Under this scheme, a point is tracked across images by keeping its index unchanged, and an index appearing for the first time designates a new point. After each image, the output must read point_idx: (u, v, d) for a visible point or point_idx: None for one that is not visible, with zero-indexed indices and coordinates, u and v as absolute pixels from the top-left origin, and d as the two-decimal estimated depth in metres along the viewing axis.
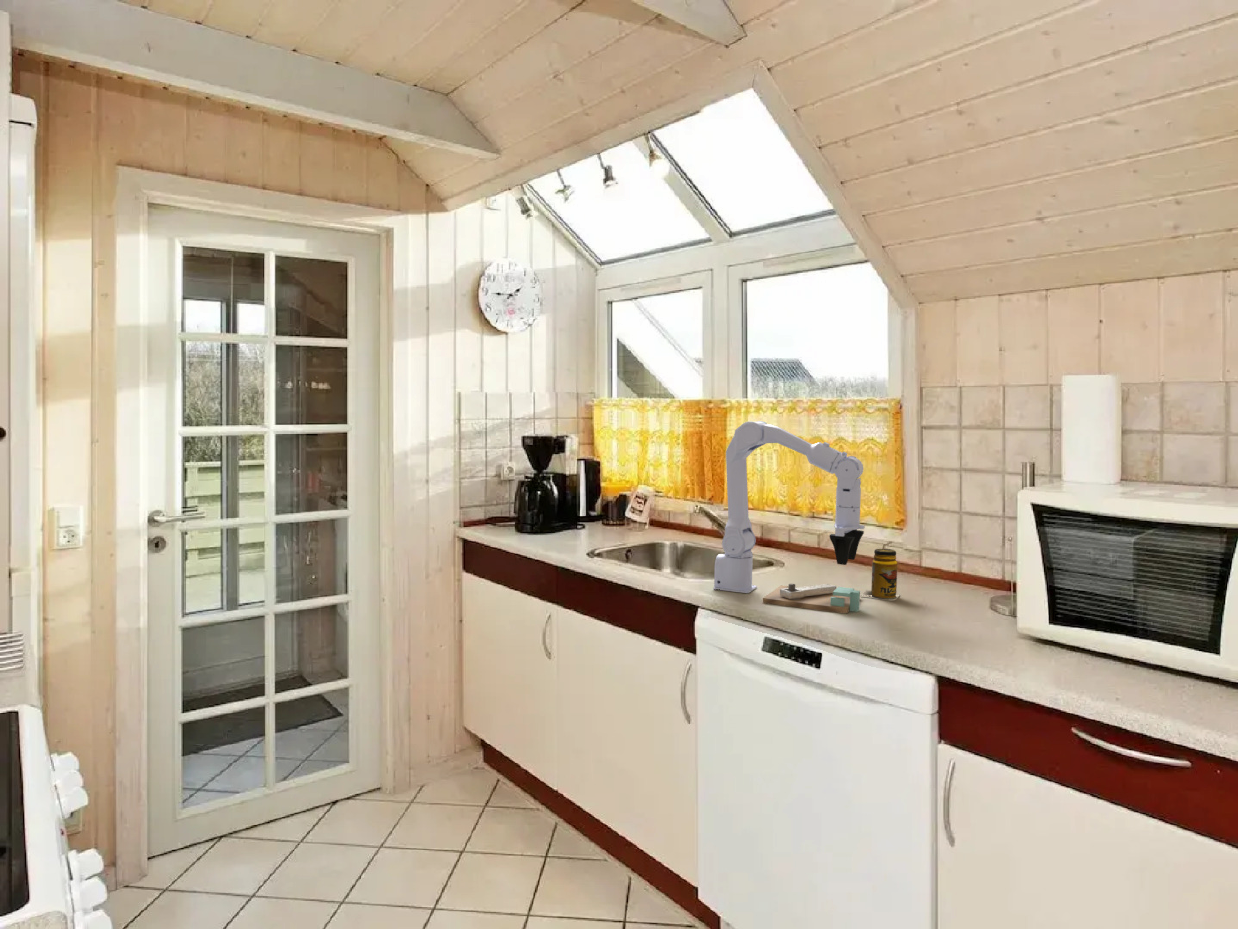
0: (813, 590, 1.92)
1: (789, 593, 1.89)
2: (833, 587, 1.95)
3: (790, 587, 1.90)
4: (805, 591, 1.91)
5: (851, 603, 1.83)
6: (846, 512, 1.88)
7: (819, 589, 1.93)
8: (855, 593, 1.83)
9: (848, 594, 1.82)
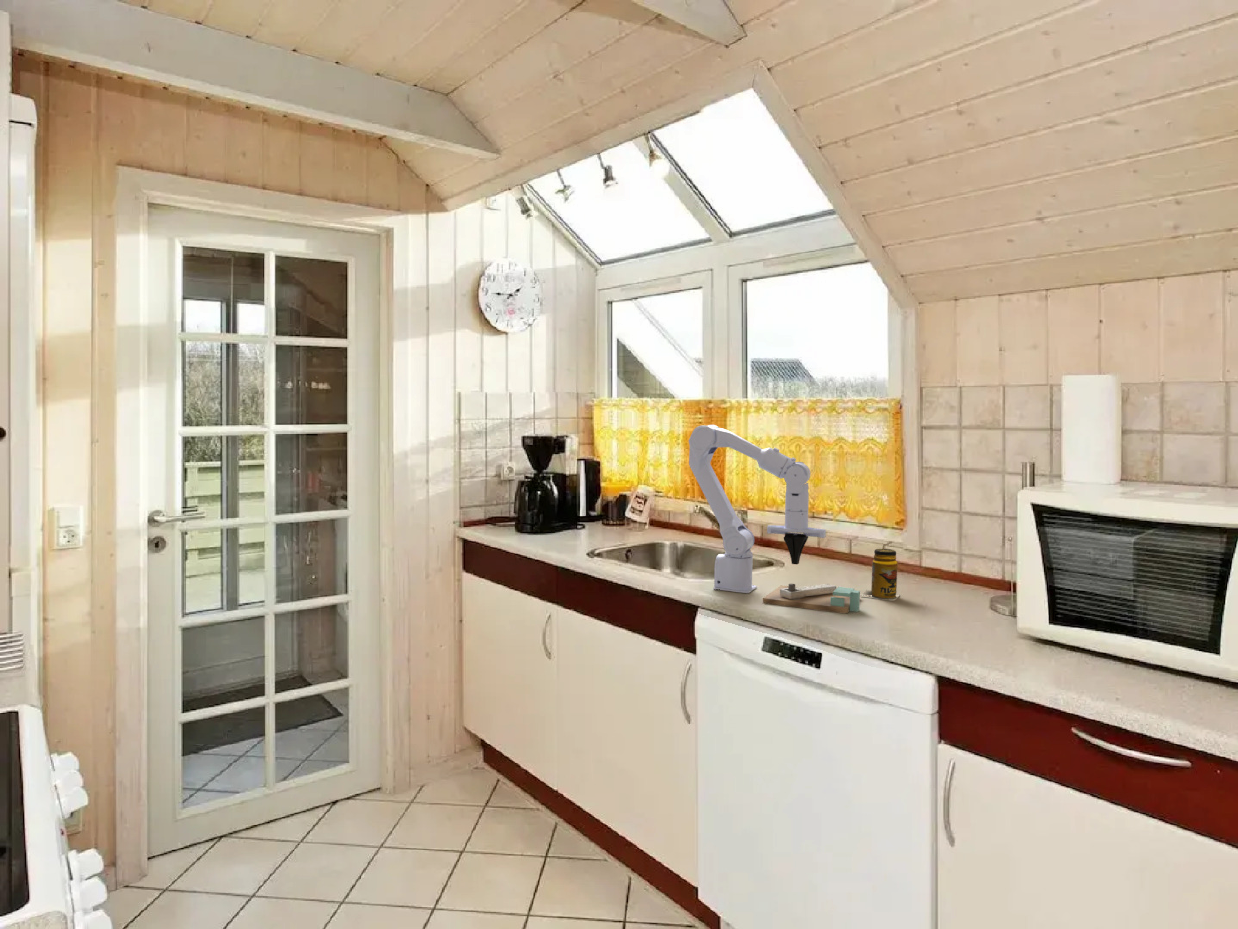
0: (813, 590, 1.92)
1: (789, 593, 1.89)
2: (833, 587, 1.95)
3: (790, 587, 1.90)
4: (805, 591, 1.91)
5: (851, 603, 1.83)
6: None
7: (819, 589, 1.93)
8: (855, 593, 1.83)
9: (848, 594, 1.82)
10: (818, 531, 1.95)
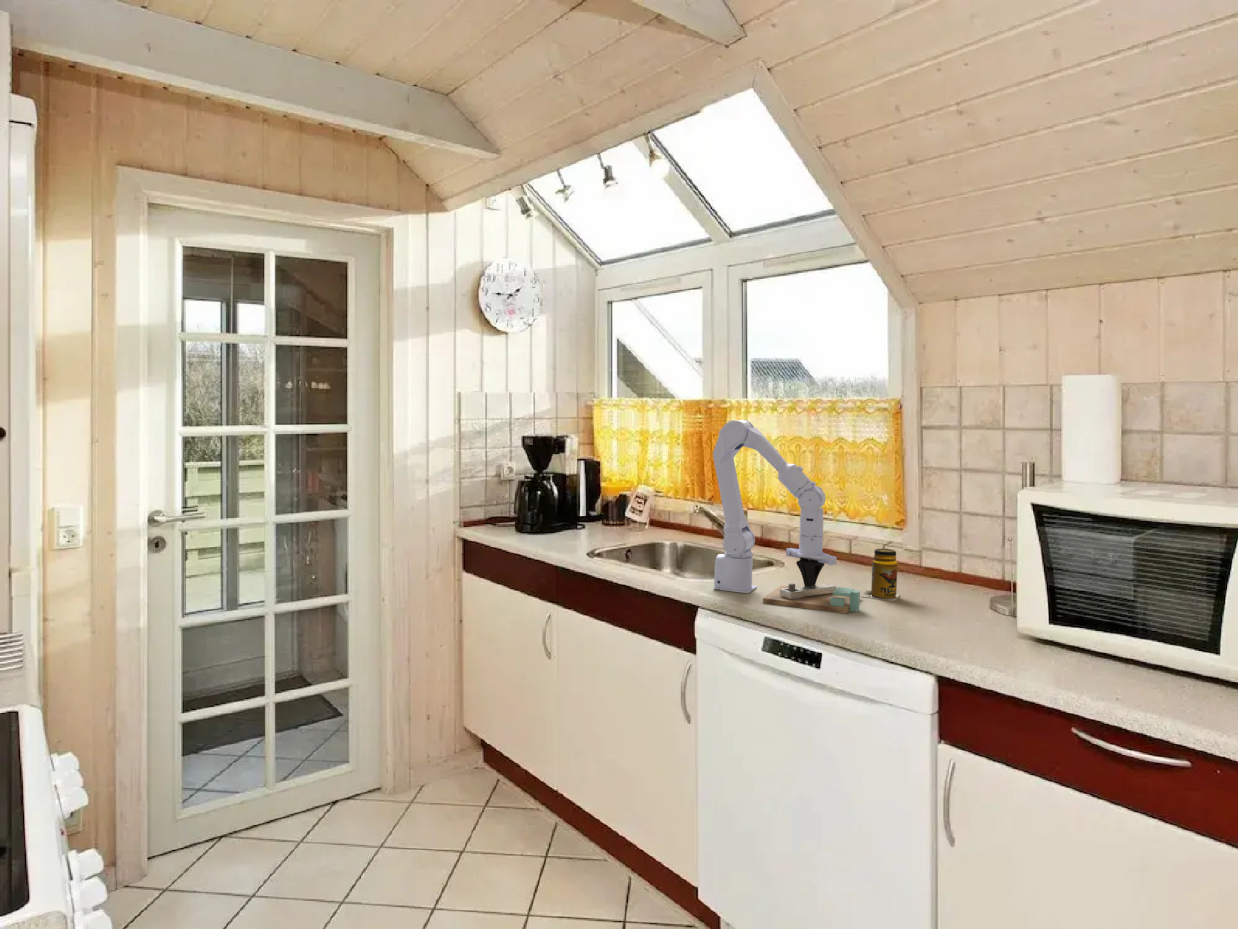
0: (813, 590, 1.92)
1: (789, 593, 1.89)
2: (833, 587, 1.95)
3: (790, 587, 1.90)
4: (805, 591, 1.91)
5: (851, 603, 1.83)
6: None
7: (819, 589, 1.93)
8: (855, 593, 1.83)
9: (848, 594, 1.82)
10: (826, 558, 1.91)
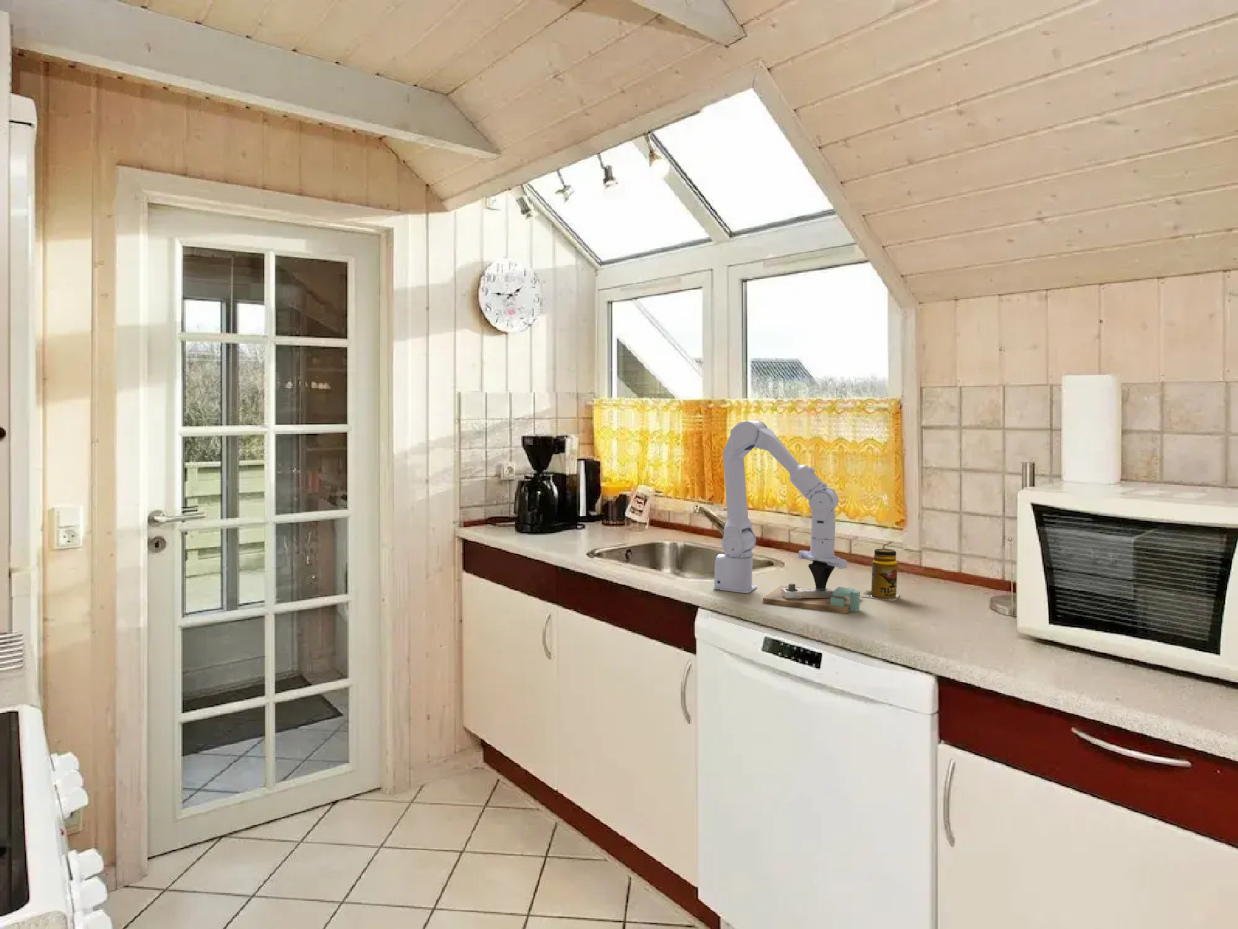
0: (816, 592, 1.90)
1: (785, 592, 1.89)
2: None
3: (790, 587, 1.90)
4: (805, 592, 1.90)
5: (851, 603, 1.83)
6: None
7: (823, 592, 1.90)
8: (855, 593, 1.83)
9: (848, 594, 1.82)
10: (836, 561, 1.88)
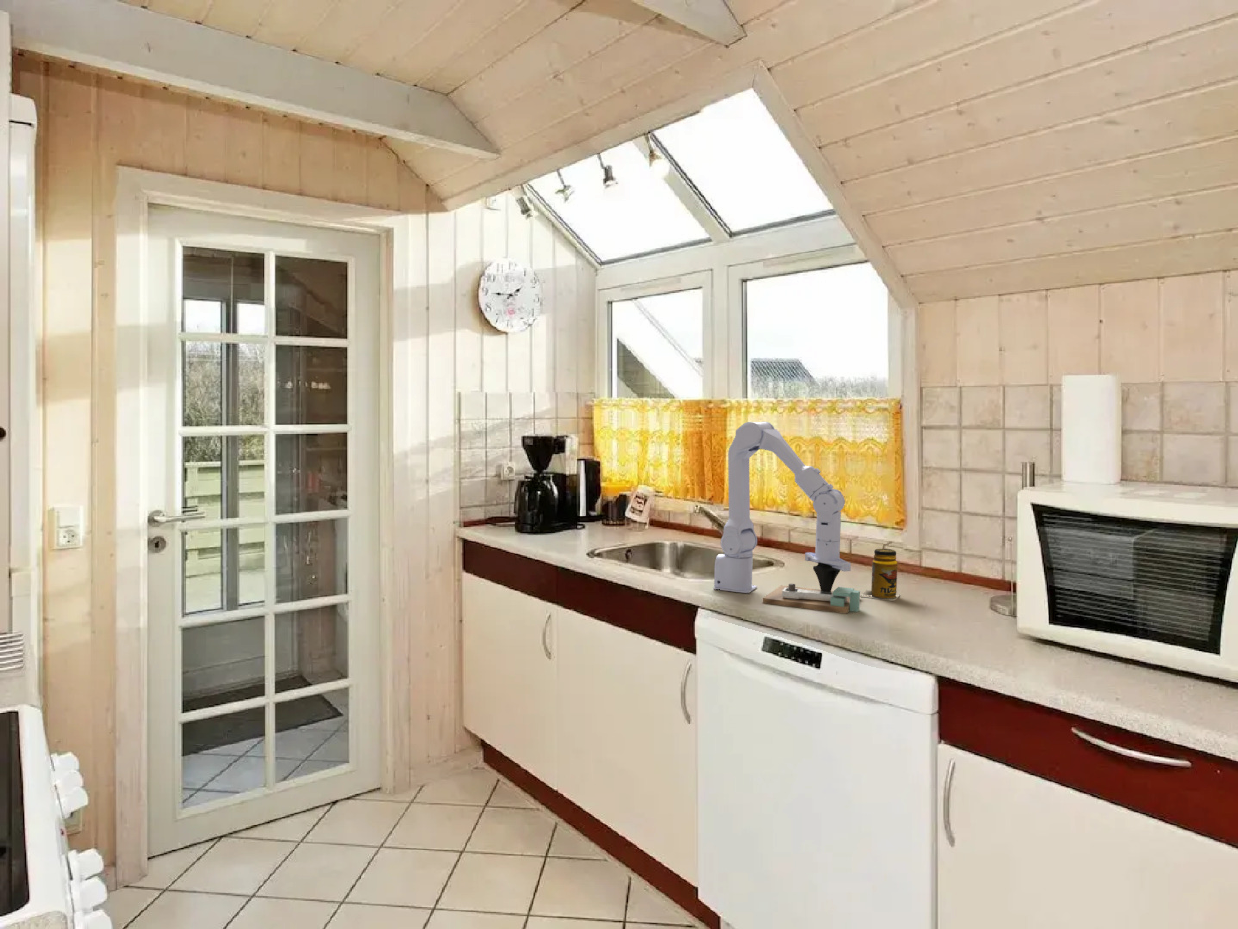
0: (814, 594, 1.88)
1: None
2: (842, 596, 1.86)
3: (790, 587, 1.90)
4: (803, 593, 1.89)
5: (851, 603, 1.83)
6: None
7: (822, 595, 1.87)
8: (855, 593, 1.83)
9: (848, 594, 1.82)
10: (839, 564, 1.85)
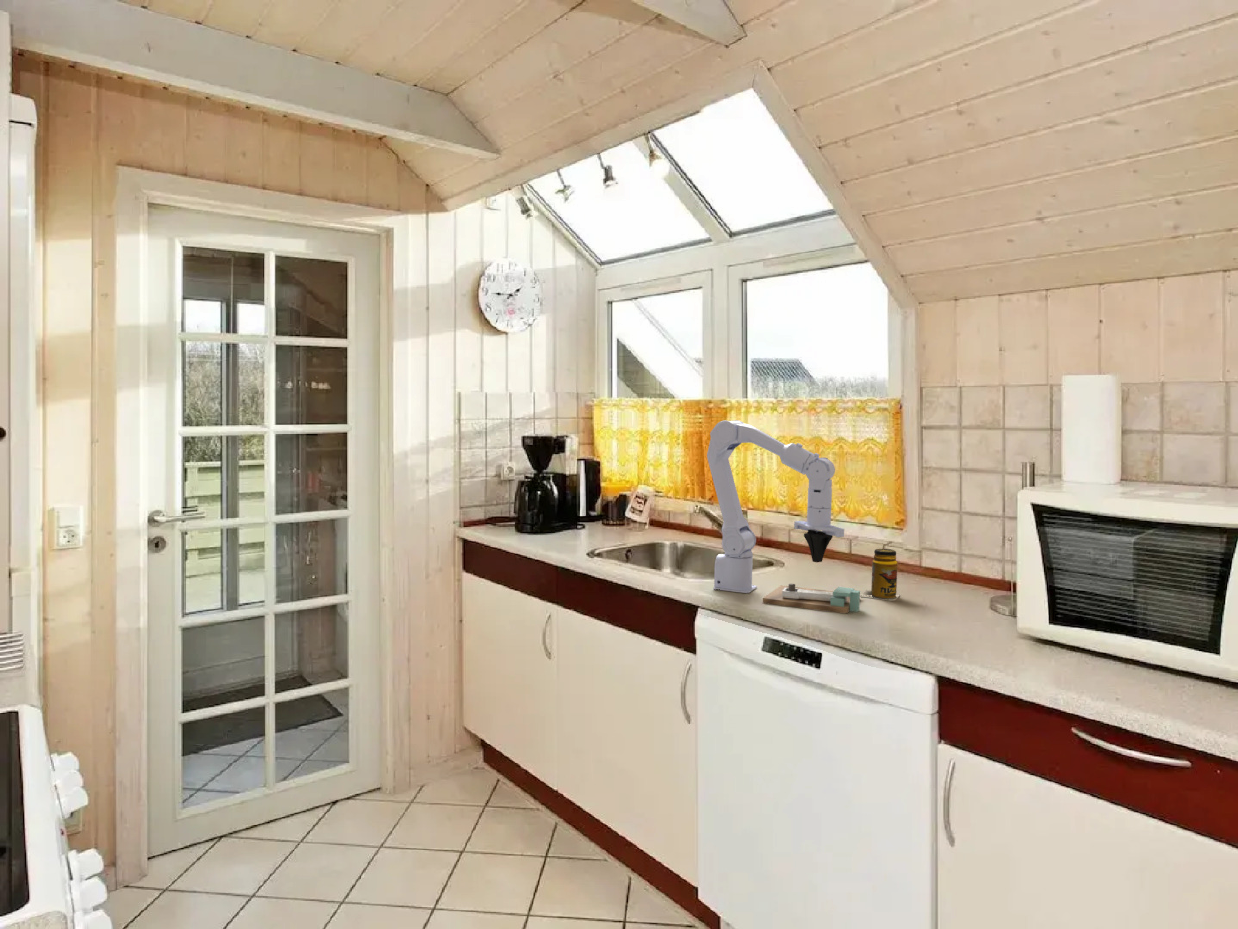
0: (814, 594, 1.88)
1: None
2: (842, 596, 1.86)
3: (790, 587, 1.90)
4: (803, 593, 1.89)
5: (851, 603, 1.83)
6: None
7: (822, 595, 1.87)
8: (855, 593, 1.83)
9: (848, 594, 1.82)
10: (833, 530, 1.88)
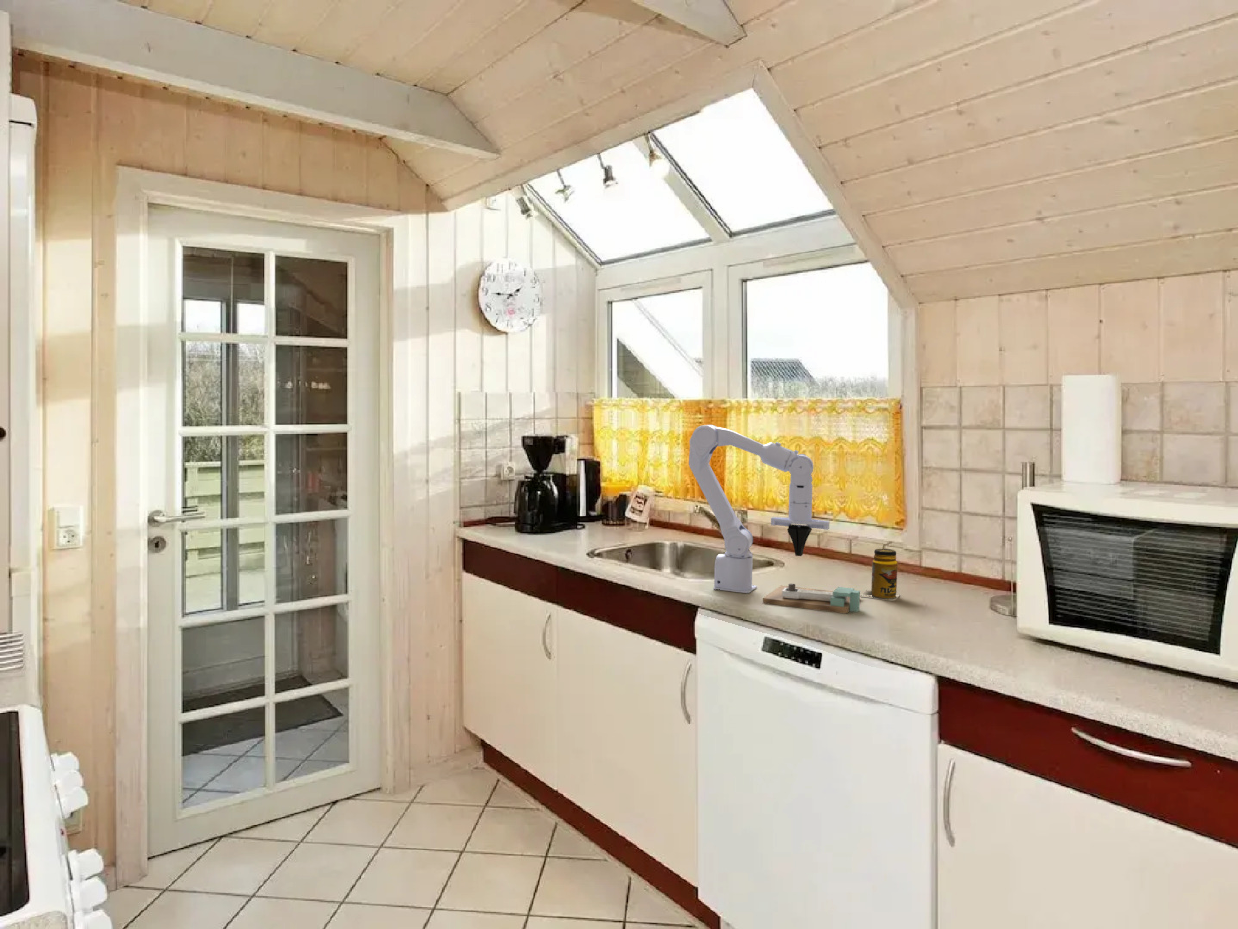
0: (814, 594, 1.88)
1: None
2: (842, 596, 1.86)
3: (790, 587, 1.90)
4: (803, 593, 1.89)
5: (851, 603, 1.83)
6: None
7: (822, 595, 1.87)
8: (855, 593, 1.83)
9: (848, 594, 1.82)
10: (822, 523, 1.96)
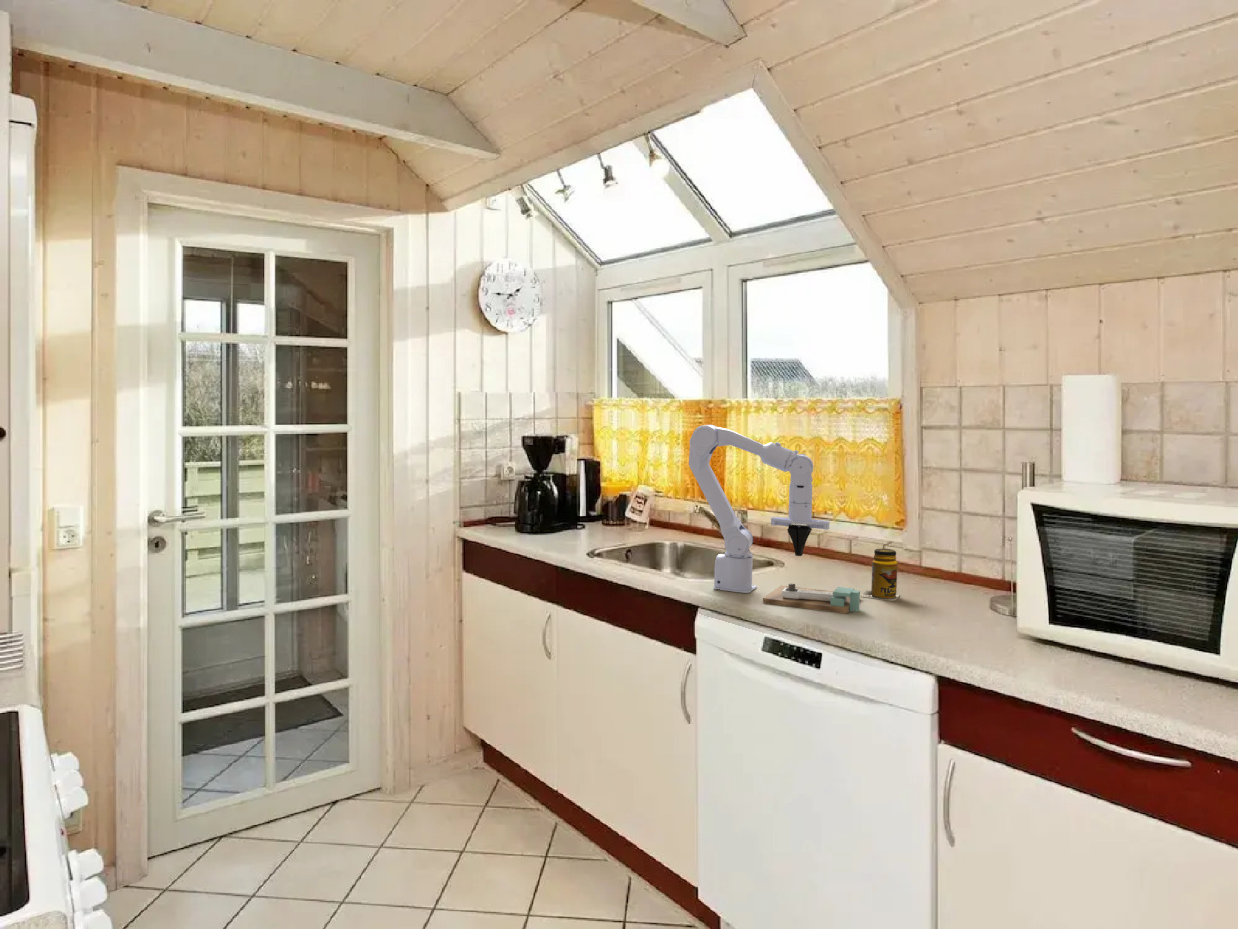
0: (814, 594, 1.88)
1: None
2: (842, 596, 1.86)
3: (790, 587, 1.90)
4: (803, 593, 1.89)
5: (851, 603, 1.83)
6: None
7: (822, 595, 1.87)
8: (855, 593, 1.83)
9: (848, 594, 1.82)
10: (822, 523, 1.96)
